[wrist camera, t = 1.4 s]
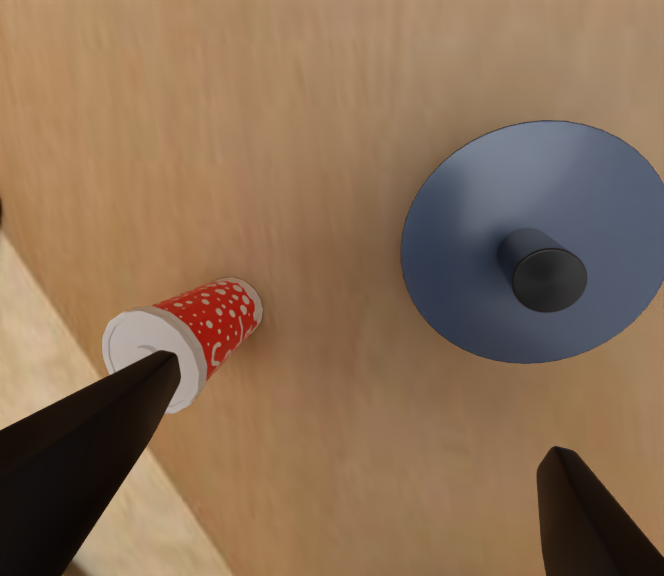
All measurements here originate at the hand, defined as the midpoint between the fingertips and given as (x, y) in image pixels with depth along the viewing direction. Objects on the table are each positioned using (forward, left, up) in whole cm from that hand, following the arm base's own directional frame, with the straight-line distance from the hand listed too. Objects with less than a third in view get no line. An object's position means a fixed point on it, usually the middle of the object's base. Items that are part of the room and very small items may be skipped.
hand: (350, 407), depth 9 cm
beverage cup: (+10, +9, -16) cm, 21 cm away
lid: (-5, -3, -12) cm, 13 cm away
